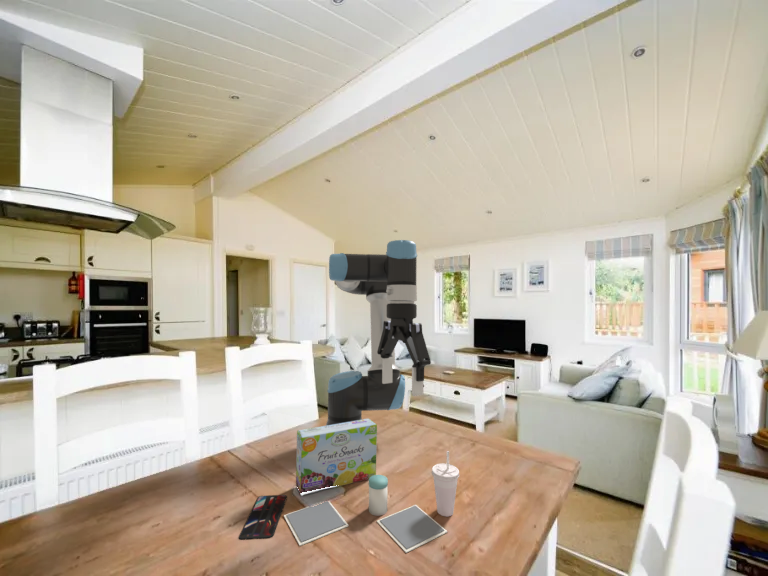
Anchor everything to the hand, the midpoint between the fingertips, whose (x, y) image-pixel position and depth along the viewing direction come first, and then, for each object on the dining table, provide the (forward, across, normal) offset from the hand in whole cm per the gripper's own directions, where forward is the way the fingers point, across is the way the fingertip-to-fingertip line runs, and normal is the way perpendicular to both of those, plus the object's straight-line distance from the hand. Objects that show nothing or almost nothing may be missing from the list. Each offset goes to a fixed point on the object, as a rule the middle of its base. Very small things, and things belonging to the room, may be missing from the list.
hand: (401, 388), depth 84 cm
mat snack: (+28, -4, -20) cm, 35 cm away
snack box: (+28, -17, -10) cm, 34 cm away
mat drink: (+28, +8, -3) cm, 29 cm away
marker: (+28, -1, -6) cm, 28 cm away
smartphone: (+28, -12, -30) cm, 43 cm away
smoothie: (+28, +8, +7) cm, 30 cm away
